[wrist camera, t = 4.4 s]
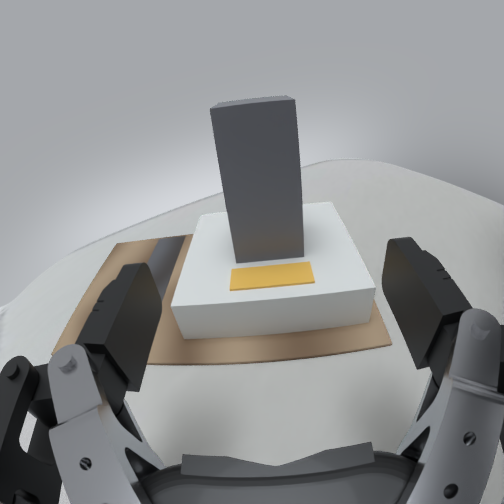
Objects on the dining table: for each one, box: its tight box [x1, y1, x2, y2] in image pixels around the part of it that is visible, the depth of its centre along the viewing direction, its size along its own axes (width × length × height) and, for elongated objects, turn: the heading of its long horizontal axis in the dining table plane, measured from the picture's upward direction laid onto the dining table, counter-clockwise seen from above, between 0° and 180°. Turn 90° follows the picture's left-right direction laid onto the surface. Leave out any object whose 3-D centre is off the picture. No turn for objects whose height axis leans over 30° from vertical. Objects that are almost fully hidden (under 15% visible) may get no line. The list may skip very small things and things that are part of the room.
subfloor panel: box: [51, 234, 392, 365], centre depth 23 cm, size 24×16×1 cm, turn 90°
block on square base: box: [171, 96, 376, 339], centre depth 19 cm, size 12×12×13 cm
